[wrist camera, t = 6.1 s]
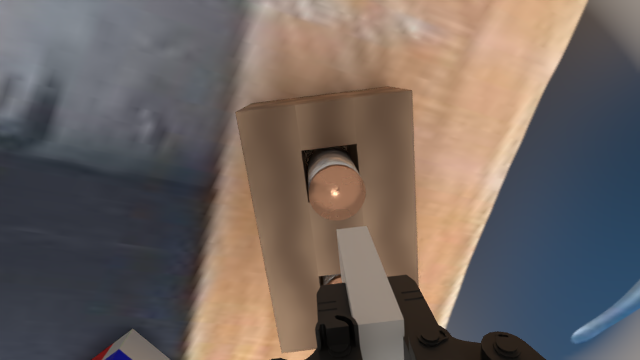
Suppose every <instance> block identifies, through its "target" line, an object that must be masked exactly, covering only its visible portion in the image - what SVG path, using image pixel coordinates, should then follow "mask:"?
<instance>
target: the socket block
mask: <svg viewBox="0 0 640 360" xmlns="http://www.w3.org/2000/svg"><path fill="white" fill-rule="evenodd" d="M235 113H236V118H237V123H238V129H239V134H240V139H241V144H242V149H243V155H244V160H245V165H246V170H247V175H248V181H249V186H250V191H251V196H252V201H253V207H254V212H255V217H256V222H257V227H258V233H259V238H260V243H261V248H262V253H263V259H264V264H265V269H266V274H267V279H268V285H269V290H270V295H271V300H272V305H273V311H274V316H275V321H276V326H277V331H278V337H279V342H280V347H281V352H282V353H288V352H296V351H304V350H311V349H316V348H317V342H316V335H315V327H316V324H317V322H318V316H317V295H316V294H317V292H318V290H319V288H320V286H321V285H323V276H325V275H333V274H341V270H340V260H339V251H338V241H337V231H336V229H345V228H354V227H362V226H367V228H368V231H369V233H370V236H371V238H372V241H373V243H374V246H375V248H376V251H377V253H378V256H379V258H380V261H381V263H382V266H383V268H384V271H385V273H386V276H387V277H390V276H398V275H408V276H409V277H410V278H412V279H413V280H414V281H415V282H416V283H417V285H418V256H417V225H416V194H415V163H414V132H413V101H412V90H407V89H400V88H393V87H382V88H374V89H366V90H358V91H350V92H342V93H333V94H325V95H317V96H309V97H301V98H293V99H285V100H277V101H269V102H261V103H253V104H250V105H248V106H246V107H244V108H242V109H240V110H239V111H237V112H235ZM343 145H347V149H348V154H349V156H350V158H351V160H352V162H353V163H354V165H355V167H356V169H357V171H358V173H359V174H360V176H361V178H362V180H363V182H364V185H365V189H366V197H365V201H364V203H363V205H362V207H361V209H360V210H359V211H358V212H357V213H356V214H355V215H353V216H351V217H350V218H347V219H344V220H329V219H326V218H324V217H322V216H320V215H319V214H318V213H316V212H315V210H314V209H313V208H312V206H311V204H310V200H309V187H308V175H307V167H306V160H305V153H304V150H311V149H319V148H327V147H335V146H343Z"/></svg>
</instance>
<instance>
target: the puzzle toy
mask: <svg viewBox="0 0 640 360" xmlns="http://www.w3.org/2000/svg"><path fill="white" fill-rule="evenodd" d="M92 360H170V359H169V358H168V357H167V356H165V355H164V354H163V353H162V352H160V351H159V350H158V349H157V348H156V347H154V346H153V345H152V344H151V343H150V342H148V341H147V340H146V339H145V338H143V337H142V336H141V335H140V334H139V333H137V332H136V331H135V330H134V329H131V330H130V331H129V332H128V333H126V334H125V335H124V336H122V337H121V338H120V339H118V340H117V341H116V342H114V343H113V344H112V345H110V346H109V347H108V348H106V349H105V350H104V351H102V352H101V353H100V354H98V355H97V356H96V357H94V358H93V359H92Z"/></svg>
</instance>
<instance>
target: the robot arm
mask: <svg viewBox="0 0 640 360" xmlns="http://www.w3.org/2000/svg"><path fill="white" fill-rule="evenodd" d="M336 231H337V241H338V251H339V260H340V270H341V279H342V283H337V284H328V285H321V286H320V288H319V290H318V292H317V294H316V295H317V316H318V322H317V324H316V327H315V335H316V342H317V348H316V350H315V351H314V353H313V354H312V355H311V356H310V357H308V358H307V359H305V360H546V359H545V358H543V357H542V356H541V355H540V354H539V353H538V352H536V351H535V350H534V349H533V348H532V347H531V346H529V345H528V344H527V343H526V342H525V341H523V340H522V339H520V338H518V337H517V336H514V335H512V334H509V333H505V332H491V333H488V334H486V335H485V336H484V337H483V339H482V341H481V343H476V342H469V341H462V340H459V339H456V338H454V337H452V336H451V335H450V333H449V332H448V331H447V330H446V329H444V328H443V327H441V326H439V325H438V323H437V321H436V320H435V318H434V316H433V314H432V312H431V310H430V308H429V306H428V304H427V302H426V301H425V299H424V297H423V295H422V293H421V292H420V289H419V287H418V285H417V283H416V282H415V281H414V280H413V279H412V278H410V277H409V276H408V275H398V276H390V277H387V276H386V273H385V271H384V268H383V266H382V263H381V261H380V258H379V256H378V253H377V251H376V248H375V246H374V243H373V241H372V238H371V236H370V233H369V231H368V228H367V226H362V227H354V228H345V229H336ZM271 360H285V359H282V358H277V359H271Z"/></svg>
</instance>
